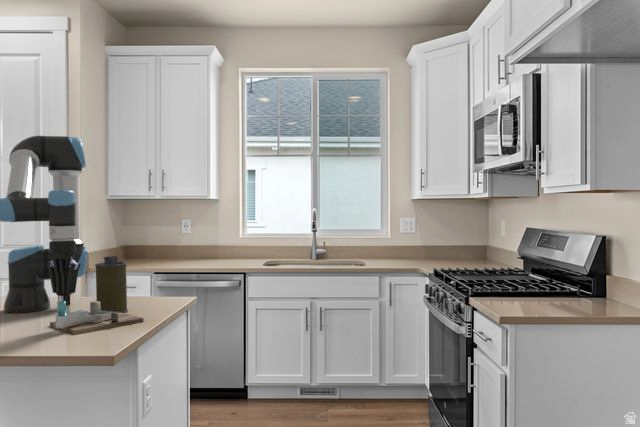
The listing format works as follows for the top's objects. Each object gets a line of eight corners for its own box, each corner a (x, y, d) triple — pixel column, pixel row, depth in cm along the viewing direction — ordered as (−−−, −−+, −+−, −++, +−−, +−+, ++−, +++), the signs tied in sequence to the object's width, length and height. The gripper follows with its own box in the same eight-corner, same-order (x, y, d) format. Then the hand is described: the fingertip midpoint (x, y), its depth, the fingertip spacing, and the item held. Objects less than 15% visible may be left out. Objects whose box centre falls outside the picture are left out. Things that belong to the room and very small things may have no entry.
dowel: (110, 326, 166) (109, 313, 166) (116, 324, 167) (116, 312, 167) (113, 326, 164) (112, 314, 164) (119, 325, 166) (119, 313, 166)
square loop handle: (97, 316, 174) (96, 293, 174) (114, 317, 171) (114, 294, 171) (49, 326, 159) (49, 301, 159) (67, 329, 156) (67, 303, 155)
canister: (116, 315, 182) (115, 257, 182) (89, 314, 185) (88, 257, 184) (134, 309, 193) (132, 254, 193) (108, 309, 195) (107, 254, 195)
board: (49, 326, 167) (49, 303, 167) (116, 314, 184) (116, 294, 184) (74, 334, 155) (74, 310, 155) (143, 321, 172) (143, 299, 172)
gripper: (37, 240, 164) (39, 316, 164) (65, 241, 158) (67, 320, 158) (59, 239, 171) (61, 312, 171) (87, 239, 165) (89, 315, 165)
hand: (64, 316), depth 164 cm, fingers closed
